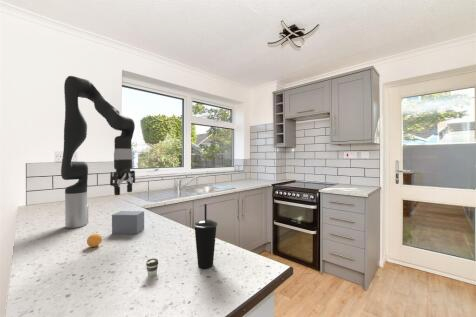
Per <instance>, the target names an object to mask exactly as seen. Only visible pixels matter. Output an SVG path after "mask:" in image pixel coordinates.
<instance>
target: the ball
mask: <svg viewBox="0 0 476 317" xmlns="http://www.w3.org/2000/svg"><path fill="white" fill-rule="evenodd" d="M102 240H103V238H102V235H101V234H99V233H92V234H90V235H89V236H88V237H87V239H86V244H87V245H88V247H91V248H96V247H98V246H99V245H100V244H101V243H102V242H103V241H102Z"/></svg>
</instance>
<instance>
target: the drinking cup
mask: <svg viewBox="0 0 476 317" xmlns="http://www.w3.org/2000/svg"><path fill="white" fill-rule="evenodd" d="M207 207H208V206H207V203H205V204H204V209H203V210H204V211H203V212H204V213H203V214H204V218H203V219H201V220H198V221H196V222H194V223H193V228H194V234H195V248H196V257H197V260H196V261H197V267H198V268H199V269H200V270H209V269H211V268H212V267H214V259H215V246H216V236H217V234H216V233H217V226H218V222H217V221H214V220H212V219H208V218H207V215H208V214H207V210H208V209H207Z"/></svg>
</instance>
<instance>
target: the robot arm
mask: <svg viewBox="0 0 476 317" xmlns="http://www.w3.org/2000/svg"><path fill="white" fill-rule="evenodd" d="M63 85H64V87H63V88H64V89H63V92H64V106H65V108H64V109H65V112H64V125H63V152H62V159H61V167H60V176H61V179H62V180H64V181H70V180H77V182H75V183H74V184H72V185H69V186H66V187H65V189H64V211H65V212H64V215H65V216H64V220H65V221H64V222H65V223H64V225H65V226H64V227H65V228H67V229H74V228H75V229H76V228H81V227H83V226H87V225H88V224H89V205H88V181H89V180H88V177H89V176H88V175H89V166H88V163H87V162H86V161H72V160H73V157H74V154H75V152H76V151H77V150H78V149H79V148H80V146H81V145H82V144H83V143H84V142H85V141H86V138H87V135H88V133H87V132H88V124H87V121H86V119H85V117H84V115H83V113H82V111H81V110H80V106H79V98H82V99H83V98H84V99H88V100H89V101H91V102H92V103H93V105H94V109H95V111H96V112H97V113H98V114H99V115H100V116H101V117H103V118H104V119H105V120H106V122H107V124H108V125H109V126H110V127H111V129H113V130H115V131H120V132H121V133H120V135H117V136H115V137H114V142H113V143H114V152H113V168H114V169H115V171H111V172H110V178H109V182H110V183H109V185H110V186H111V187H113V189H114V190H113V191H114V192H113V193H114V195H115V196H120V195H121V184H122V183H123V182H125V183H126V192H127V193H132V192H133V184H134V183H136V171H135V170H131V169H132V168H133V151H132V139H133V136H134V132H135V127H136V125H135V121H134V119H133V118H131V117H130V116H125V115H121V114H120V111H119V110H118V108H117V107H115V106H114V105H113V104H112V103H111V102H109V100H108V99H106V98H105V96H104V95H102V93H101V92H100V91H99V90H98V89H97V87H96V86H95V84H93V83H92V82H91V81H90V80H88V79H85V78H80V77H77V76H74V75H68V76H67V77H66V78H65V81H64V84H63Z"/></svg>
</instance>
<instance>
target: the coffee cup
mask: <svg viewBox="0 0 476 317" xmlns="http://www.w3.org/2000/svg"><path fill="white" fill-rule="evenodd" d="M145 265H146V266H145V267H146V272H147V276H148V277H149V278H154V277H156V276H158V275H157V274H158V267H159V260H158V258H150V259H147V261H146V263H145Z"/></svg>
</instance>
